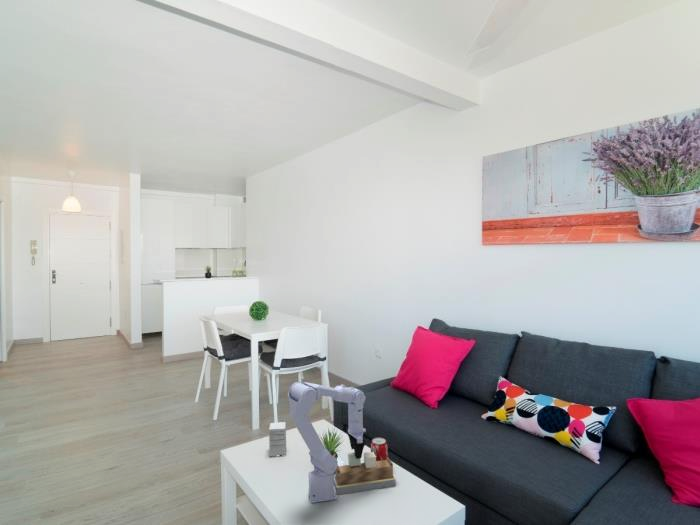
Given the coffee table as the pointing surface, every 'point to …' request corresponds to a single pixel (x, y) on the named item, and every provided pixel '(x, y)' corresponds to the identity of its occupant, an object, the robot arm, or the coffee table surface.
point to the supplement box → (277, 438)
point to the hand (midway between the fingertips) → (356, 453)
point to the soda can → (379, 449)
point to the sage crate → (353, 459)
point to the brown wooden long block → (363, 472)
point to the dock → (363, 485)
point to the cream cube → (369, 460)
